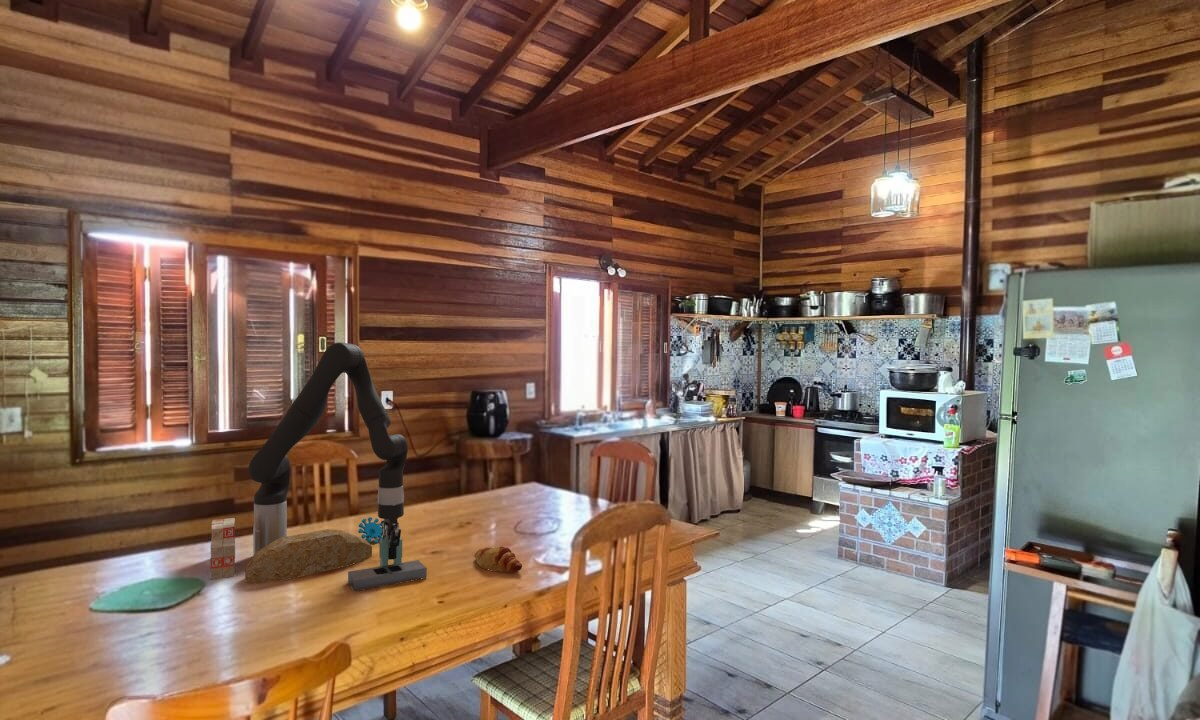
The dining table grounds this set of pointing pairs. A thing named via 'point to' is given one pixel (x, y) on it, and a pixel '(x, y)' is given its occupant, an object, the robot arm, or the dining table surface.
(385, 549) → the teal block
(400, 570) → the rail
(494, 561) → the croissant
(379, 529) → the gear
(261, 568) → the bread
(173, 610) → the dining table surface
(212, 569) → the stack of blocks
